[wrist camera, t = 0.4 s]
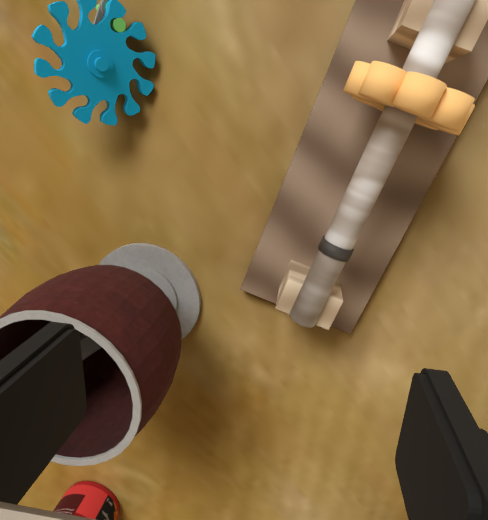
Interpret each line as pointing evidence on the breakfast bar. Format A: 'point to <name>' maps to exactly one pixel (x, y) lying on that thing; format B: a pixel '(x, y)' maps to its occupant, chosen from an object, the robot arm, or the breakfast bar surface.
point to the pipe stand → (364, 162)
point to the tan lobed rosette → (410, 95)
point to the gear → (95, 58)
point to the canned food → (89, 502)
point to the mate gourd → (114, 339)
